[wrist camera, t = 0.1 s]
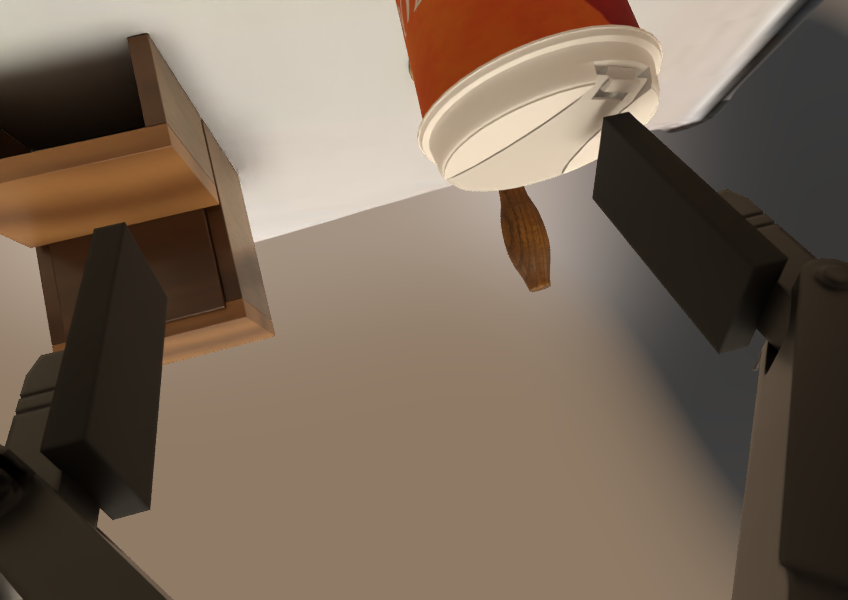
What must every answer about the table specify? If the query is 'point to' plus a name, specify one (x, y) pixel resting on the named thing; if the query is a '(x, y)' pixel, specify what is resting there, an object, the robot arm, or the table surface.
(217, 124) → the table surface
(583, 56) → the paper cup
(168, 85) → the brown wooden step stand
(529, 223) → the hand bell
